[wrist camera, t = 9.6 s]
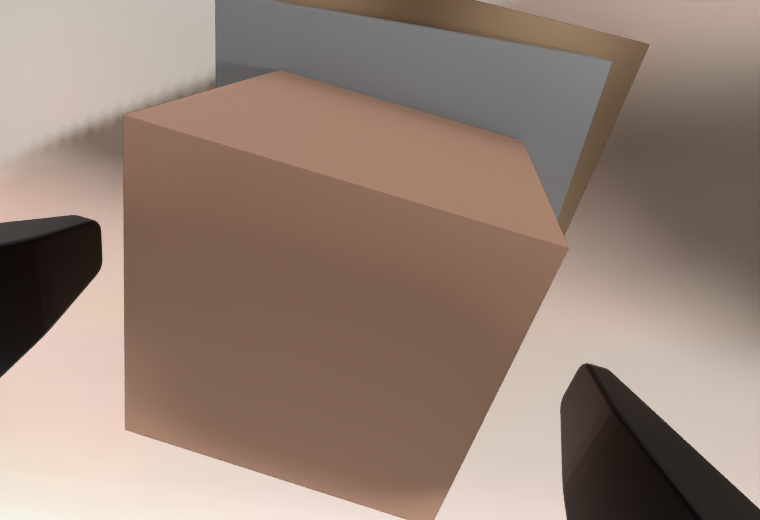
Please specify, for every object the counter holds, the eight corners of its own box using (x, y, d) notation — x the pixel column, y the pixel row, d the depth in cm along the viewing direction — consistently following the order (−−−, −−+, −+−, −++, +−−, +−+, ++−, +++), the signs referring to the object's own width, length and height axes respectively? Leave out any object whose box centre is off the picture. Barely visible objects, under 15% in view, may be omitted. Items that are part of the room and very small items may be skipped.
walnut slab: (621, 40, 15) (649, 44, 12) (499, 330, 20) (504, 369, 17) (272, -48, 15) (238, -60, 13) (241, 258, 20) (213, 287, 18)
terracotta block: (522, 140, 11) (568, 247, 6) (444, 337, 14) (430, 527, 9) (280, 69, 12) (122, 114, 6) (250, 278, 14) (125, 429, 9)
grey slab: (587, 54, 13) (612, 61, 10) (497, 332, 17) (501, 379, 15) (256, -4, 13) (215, -8, 11) (248, 278, 17) (217, 315, 15)
